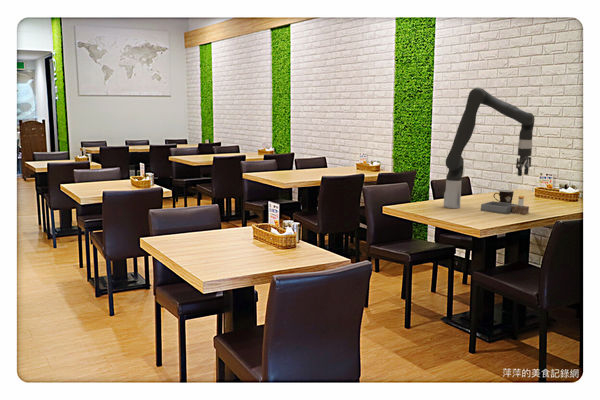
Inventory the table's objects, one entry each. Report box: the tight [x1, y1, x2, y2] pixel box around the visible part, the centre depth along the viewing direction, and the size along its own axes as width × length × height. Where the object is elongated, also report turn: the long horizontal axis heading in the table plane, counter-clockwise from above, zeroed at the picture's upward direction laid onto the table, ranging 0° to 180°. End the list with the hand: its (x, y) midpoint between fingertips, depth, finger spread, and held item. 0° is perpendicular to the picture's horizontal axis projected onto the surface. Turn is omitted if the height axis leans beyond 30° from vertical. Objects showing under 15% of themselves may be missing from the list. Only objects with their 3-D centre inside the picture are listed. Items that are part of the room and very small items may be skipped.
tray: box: [480, 200, 518, 215], centre depth 334 cm, size 16×15×4 cm
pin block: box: [511, 204, 530, 216], centre depth 326 cm, size 7×7×4 cm
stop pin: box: [517, 195, 525, 207], centre depth 326 cm, size 3×3×10 cm
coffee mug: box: [493, 189, 514, 204], centre depth 349 cm, size 12×9×10 cm
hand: (522, 175), depth 320 cm, fingers open, 8 cm apart
